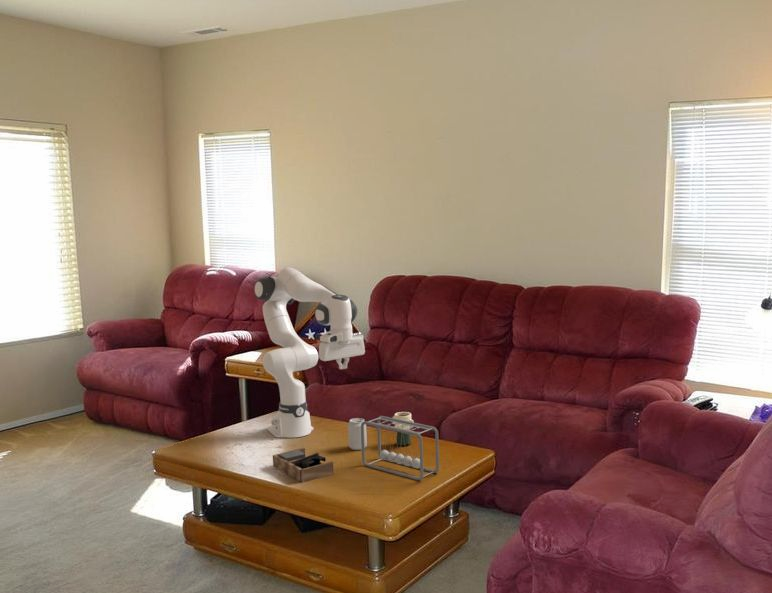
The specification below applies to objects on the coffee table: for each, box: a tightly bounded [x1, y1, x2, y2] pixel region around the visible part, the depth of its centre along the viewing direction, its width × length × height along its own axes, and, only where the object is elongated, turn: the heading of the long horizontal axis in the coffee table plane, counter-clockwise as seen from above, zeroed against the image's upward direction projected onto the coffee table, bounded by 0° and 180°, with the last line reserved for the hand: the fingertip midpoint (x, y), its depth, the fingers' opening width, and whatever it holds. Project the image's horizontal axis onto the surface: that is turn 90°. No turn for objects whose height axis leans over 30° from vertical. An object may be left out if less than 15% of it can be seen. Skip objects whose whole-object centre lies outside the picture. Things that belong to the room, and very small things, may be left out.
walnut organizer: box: [272, 447, 335, 483], centre depth 286 cm, size 23×14×4 cm, turn 36°
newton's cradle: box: [361, 415, 440, 482], centre depth 282 cm, size 30×10×18 cm, turn 49°
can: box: [347, 417, 368, 451], centre depth 310 cm, size 8×8×12 cm
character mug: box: [392, 411, 415, 446], centre depth 312 cm, size 11×7×13 cm, turn 51°
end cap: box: [295, 452, 327, 469], centre depth 282 cm, size 10×7×7 cm
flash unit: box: [279, 449, 307, 461], centre depth 290 cm, size 6×8×6 cm
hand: (343, 368), depth 304 cm, fingers closed
